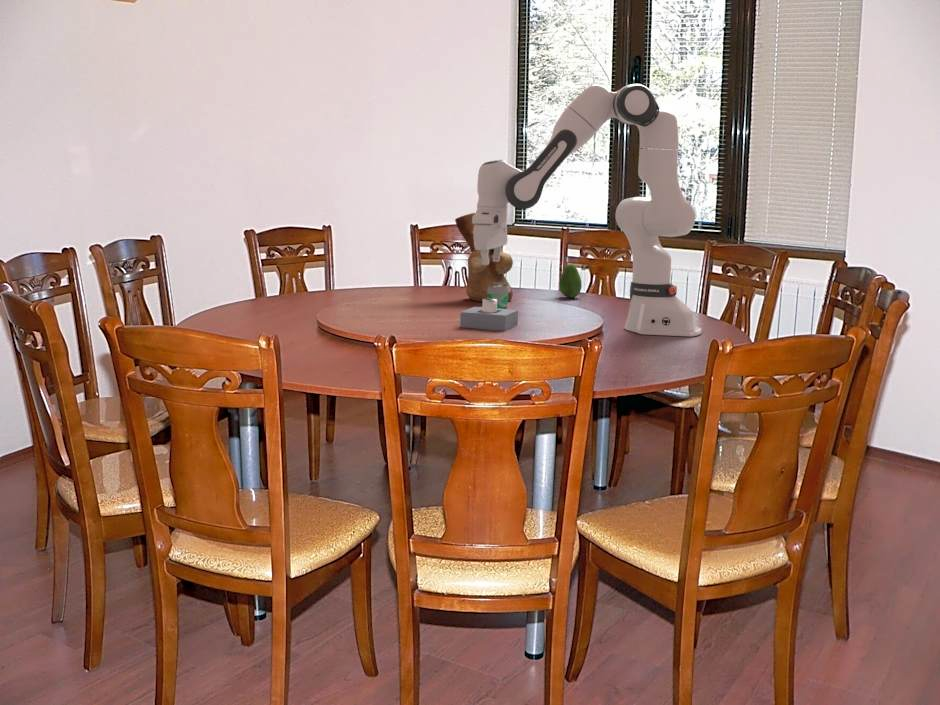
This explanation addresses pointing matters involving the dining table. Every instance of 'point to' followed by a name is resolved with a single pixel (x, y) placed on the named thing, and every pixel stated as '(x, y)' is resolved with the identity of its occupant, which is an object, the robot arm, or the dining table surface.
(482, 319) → the slate jig
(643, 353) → the dining table surface
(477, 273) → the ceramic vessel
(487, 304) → the cylinder
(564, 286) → the avocado
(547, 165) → the robot arm
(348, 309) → the dining table surface
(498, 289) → the food container
